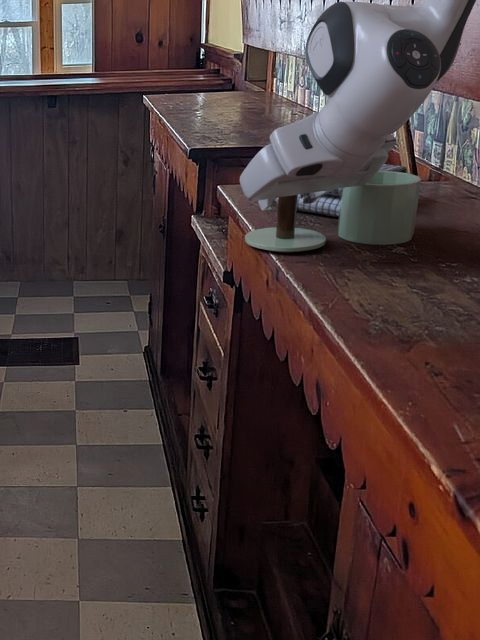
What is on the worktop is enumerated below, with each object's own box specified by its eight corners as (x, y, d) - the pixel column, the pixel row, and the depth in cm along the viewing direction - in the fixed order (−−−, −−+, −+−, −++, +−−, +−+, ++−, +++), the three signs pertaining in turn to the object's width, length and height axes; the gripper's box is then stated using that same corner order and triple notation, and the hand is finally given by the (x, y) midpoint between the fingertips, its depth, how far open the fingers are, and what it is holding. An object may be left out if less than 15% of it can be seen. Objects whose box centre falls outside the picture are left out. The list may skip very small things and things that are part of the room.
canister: (420, 231, 128) (428, 173, 125) (401, 248, 121) (409, 187, 118) (350, 223, 134) (356, 168, 131) (328, 239, 127) (333, 181, 123)
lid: (336, 240, 126) (342, 177, 123) (309, 259, 118) (315, 193, 115) (262, 231, 133) (266, 171, 129) (231, 249, 125) (235, 186, 121)
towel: (269, 211, 144) (273, 163, 141) (323, 190, 155) (328, 146, 152) (357, 224, 134) (363, 173, 131) (409, 201, 145) (415, 154, 142)
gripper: (393, 115, 115) (336, 176, 128) (263, 130, 109) (216, 193, 122) (413, 153, 113) (354, 211, 126) (282, 171, 107) (233, 231, 120)
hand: (285, 202), depth 124 cm, fingers open, 6 cm apart
